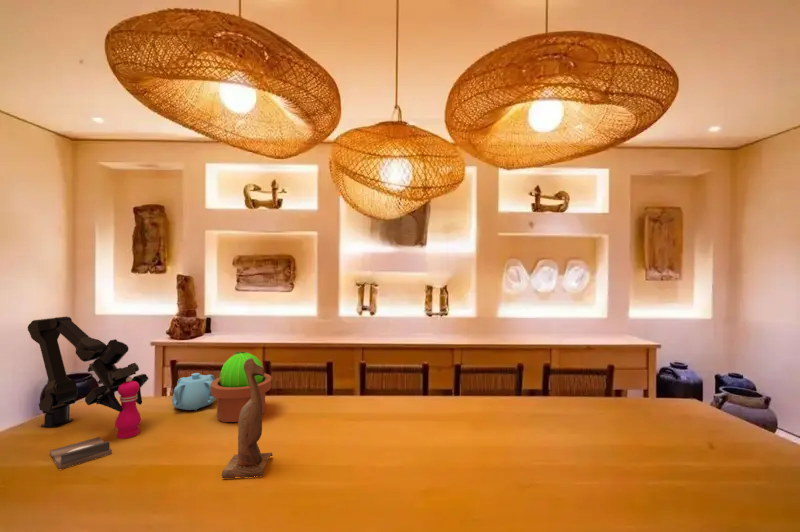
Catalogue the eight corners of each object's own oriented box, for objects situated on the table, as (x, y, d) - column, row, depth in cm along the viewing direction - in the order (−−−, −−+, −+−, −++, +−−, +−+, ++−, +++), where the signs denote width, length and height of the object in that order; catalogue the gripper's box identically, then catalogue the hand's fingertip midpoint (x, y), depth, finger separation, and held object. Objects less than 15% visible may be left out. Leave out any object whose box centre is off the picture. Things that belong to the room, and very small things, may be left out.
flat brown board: (49, 454, 113) (50, 442, 113) (99, 440, 123) (99, 429, 123) (59, 470, 105) (59, 457, 105) (111, 453, 114) (111, 441, 114)
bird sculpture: (265, 479, 102) (271, 363, 103) (220, 481, 100) (226, 363, 101) (272, 458, 113) (277, 354, 114) (232, 460, 111) (237, 354, 112)
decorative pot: (213, 411, 149) (214, 377, 149) (167, 415, 143) (168, 380, 144) (219, 397, 164) (219, 367, 164) (177, 401, 159) (178, 369, 159)
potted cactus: (267, 423, 138) (268, 356, 138) (203, 428, 133) (204, 359, 133) (273, 402, 159) (274, 344, 159) (218, 406, 154) (219, 346, 154)
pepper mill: (127, 440, 123) (128, 380, 123) (109, 438, 124) (110, 379, 124) (146, 431, 130) (147, 374, 130) (129, 429, 131) (130, 373, 131)
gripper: (92, 364, 119) (118, 401, 116) (145, 351, 137) (168, 384, 134) (73, 386, 121) (98, 423, 118) (128, 371, 139) (151, 403, 136)
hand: (131, 407), depth 127 cm, fingers open, 7 cm apart
